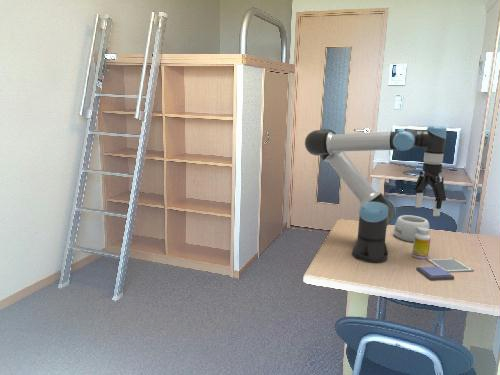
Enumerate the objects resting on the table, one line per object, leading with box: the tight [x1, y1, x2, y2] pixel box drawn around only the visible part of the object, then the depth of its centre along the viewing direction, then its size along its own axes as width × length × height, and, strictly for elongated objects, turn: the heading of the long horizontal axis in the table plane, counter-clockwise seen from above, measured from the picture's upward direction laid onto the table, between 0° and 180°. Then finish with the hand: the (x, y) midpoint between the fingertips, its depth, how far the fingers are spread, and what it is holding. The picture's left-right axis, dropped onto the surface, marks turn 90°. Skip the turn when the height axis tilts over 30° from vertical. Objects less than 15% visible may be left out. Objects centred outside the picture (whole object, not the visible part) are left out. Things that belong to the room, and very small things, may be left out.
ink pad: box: [415, 265, 455, 281], centre depth 170 cm, size 10×10×2 cm
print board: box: [426, 257, 475, 273], centre depth 180 cm, size 13×13×1 cm
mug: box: [393, 214, 430, 243], centre depth 211 cm, size 21×17×10 cm
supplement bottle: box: [412, 227, 432, 260], centre depth 188 cm, size 7×7×13 cm
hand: (426, 211), depth 185 cm, fingers open, 13 cm apart
